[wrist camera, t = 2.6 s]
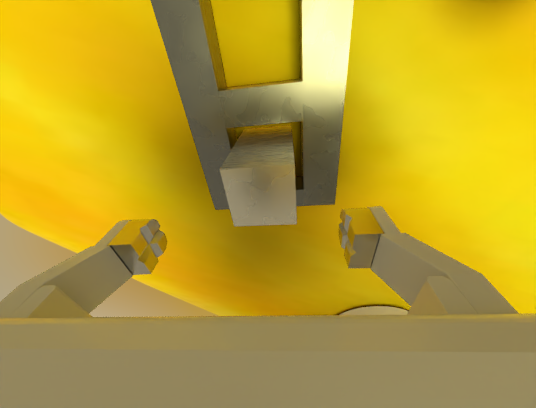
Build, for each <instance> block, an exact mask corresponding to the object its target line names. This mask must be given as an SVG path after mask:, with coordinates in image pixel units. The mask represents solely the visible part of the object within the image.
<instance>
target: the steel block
mask: <svg viewBox="0 0 536 408" xmlns="http://www.w3.org/2000/svg"><path fill="white" fill-rule="evenodd" d="M219 170H220V174H221V177H222V181H223V185H224V189H225V193H226V197H227V200H228V204H229V208H230V212H231V216H232V220H233V223H234V226H258V225H287V224H297V214H296V186H295V161H294V150H293V138H292V126H291V125H282V126H271V127H260V128H249V129H244V130H243V132H242V134H241V135H240V137H239V138H238V140H237V142H236V143H235V145H234V147H233V148H232V150H231V152H230V153H229V155H228V156H227V158H226V160H225V161H224V163H223V165H222V166H221V168H220V169H219Z"/></svg>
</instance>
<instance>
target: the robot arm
mask: <svg viewBox="0 0 536 408" xmlns="http://www.w3.org/2000/svg"><path fill="white" fill-rule="evenodd" d="M340 218H341V220H342V223H341V224H339V240H340V244H341V247H343V248H344V249H345V252H344V256H345V259H346V262H347V265H348V268H371V270H372V271H373V272H375V273H376V274H377V275H378V276H379V277H380V278H381V279H382V280H383V281H384V282H385V283H386V284H388V285H389V286H390V287H391V288H392V289H393V290H394V291H395V292H396V293H397V294H398V295H400V296H401V297H402V298H403V299H404V300H405V301H406V302H407V303H408V304H409V305H410V306H411V308H410V309H409V311H407V310H404V309H400V308H396V307H389V306H370V307H362V308H357V309H353V310H349V311H346V312H344V313H342V314H340V315H305V316H197V317H196V316H195V317H194V316H189V317H92V316H91V315H89V313H90V312H91V311H92V310H94V309H95V308H96V307H97V306H98V305H99V304H101V303H102V302H103V301H104V300H105V299H106V298H107V297H109V296H110V295H111V294H112V293H113V292H114V291H116V290H117V289H118V288H119V287H120V286H121V285H123V284H124V283H125V282H126V281H127V280H128V279H130V278H131V277H132V276H133V275H138V274H151V273H152V271H153V270H154V268H155V266H156V265H157V263H158V257H159V256H160V255H162V254H163V253H164V251H165V249H166V245H167V239H166V236H165V234H164V233H163V232H162V231H160V230H159V228H160V225H159V223H158V221H157V220H154V219H142V220H122V221H119V222H118V223H117V224H116V225H115V226H114V227H113V228H112V229H111V230H110V231H109V232H108V233H107V234H106V235H105V236H104V237H103V238H102V239H101V240H100V241H99V242H98V243H97V244H96V245H95V246H93V247H89V248H87V249H85V250H84V251H82V252H80V253H78V254H76V255H75V256H72V257H71V258H69V259H67V260H65V261H63V262H61V263H60V264H58V265H56V266H54V267H52V268H50V269H48V270H47V271H45V272H43V273H41V274H39V275H37V276H35V277H34V278H32V279H30V280H28V281H26V282H24V283H23V284H20V285H19V286H18V287H17V288H16V289H14V290H13V291H12V292H11V293H10V294H9V295H8V296H7V297H5V298H4V299H3V300H2V301H1V302H0V408H536V314H519V313H518V312H517V311H516V310H515V309H514V308H513V307H512V306H511V305H510V304H509V303H508V301H507V300H506V299H505V298H504V297H503V296H502V295H501V294H500V293H499V292H498V291H497V290H496V289H495V288H494V287H493V285H492V284H491V283H490V282H489V281H488V280H487V279H486V278H485V277H484V276H483V275H482V274H481V273H479V272H477V271H475V270H473V269H471V268H469V267H468V266H466V265H464V264H462V263H460V262H458V261H456V260H454V259H453V258H451V257H449V256H447V255H445V254H443V253H441V252H439V251H438V250H436V249H434V248H432V247H430V246H428V245H426V244H424V243H423V242H421V241H419V240H417V239H415V238H413V237H411V236H410V235H408V234H406V233H400V231H399V230H398V228H397V227H396V226H395V224H394V223H393V221H392V220H391V219H390V217H389V216H388V214H387V213H386V212H385V210H384V209H383V207H381V206H375V207H367V208H351V209H342V210H341V214H340Z"/></svg>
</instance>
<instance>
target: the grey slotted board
mask: <svg viewBox="0 0 536 408" xmlns="http://www.w3.org/2000/svg"><path fill="white" fill-rule="evenodd" d="M151 3H152V6H153V9H154V13H155V16H156V19H157V22H158V26H159V29H160V32H161V35H162V39H163V42H164V45H165V48H166V51H167V55H168V58H169V61H170V64H171V68H172V71H173V74H174V77H175V81H176V84H177V87H178V90H179V93H180V97H181V100H182V103H183V106H184V110H185V113H186V116H187V119H188V123H189V126H190V129H191V132H192V135H193V139H194V142H195V145H196V148H197V152H198V155H199V158H200V161H201V165H202V168H203V171H204V174H205V177H206V181H207V184H208V187H209V190H210V194H211V197H212V200H213V203H214V207H215V210H219V209H230V208H229V204H228V200H227V197H226V193H225V189H224V185H223V181H222V177H221V174H220V170H219V169H220V168H221V166H222V165H223V163H224V161H225V160H226V158H227V156H228V155H229V153H230V152H231V150H232V148H233V147H234V145H235V143H236V142H237V137H236V132H235V127H244V126H254V125H265V124H276V123H287V122H297V121H301V148H302V176H296V177H295V186H296V206H309V205H332V204H335V196H336V186H337V175H338V164H339V153H340V143H341V132H342V121H343V111H344V100H345V89H346V79H347V68H348V57H349V47H350V36H351V25H352V14H353V4H354V0H299V11H300V79H294V80H286V81H277V82H269V83H260V84H251V85H243V86H234V87H227V85H226V80H225V75H224V69H223V64H222V59H221V54H220V49H219V43H218V38H217V33H216V28H215V22H214V17H213V12H212V7H211V2H210V0H151Z"/></svg>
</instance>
